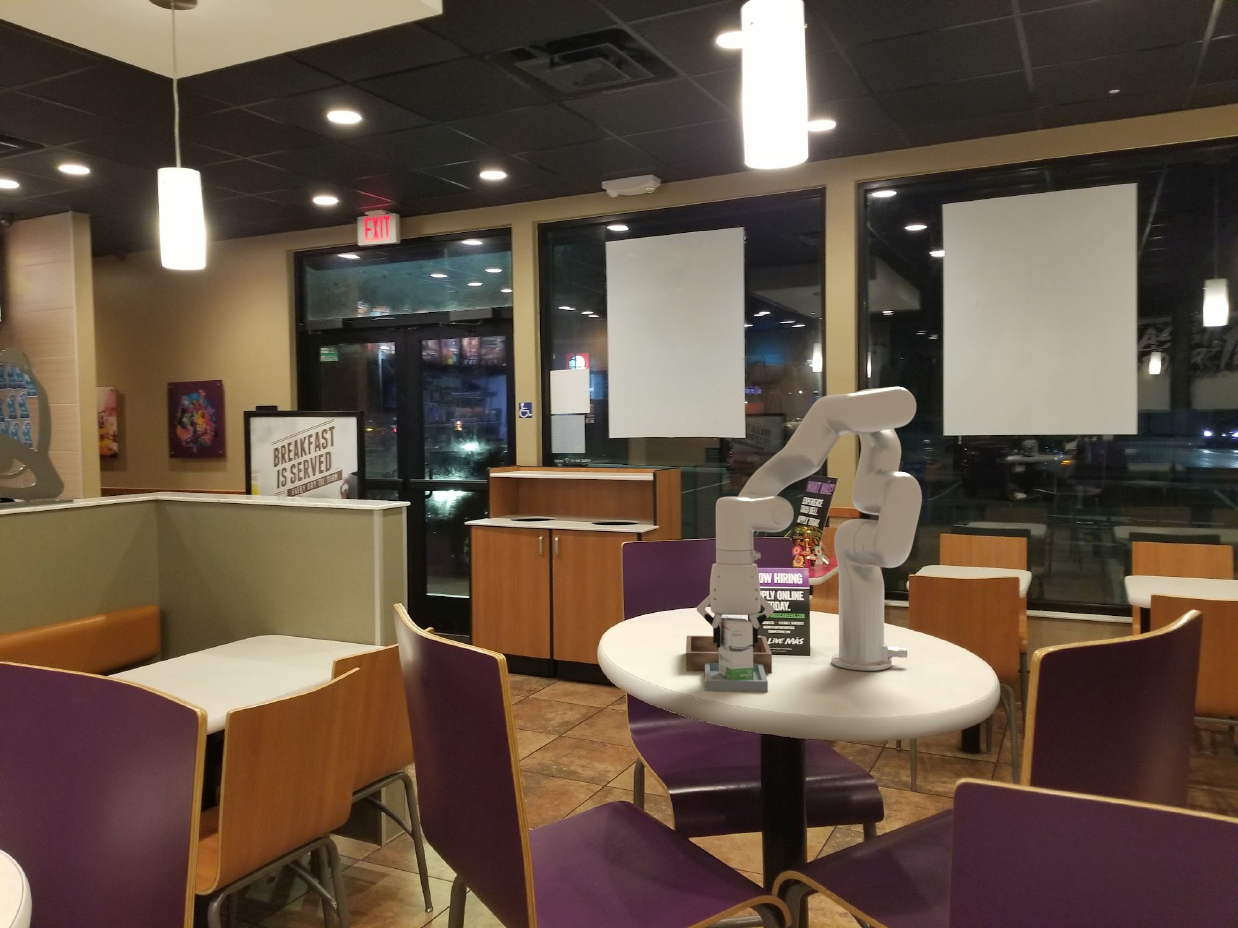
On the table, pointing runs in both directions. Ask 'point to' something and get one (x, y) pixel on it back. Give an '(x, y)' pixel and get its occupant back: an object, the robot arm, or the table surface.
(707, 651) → the crate
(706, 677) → the tray
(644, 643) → the table surface
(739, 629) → the ink box
